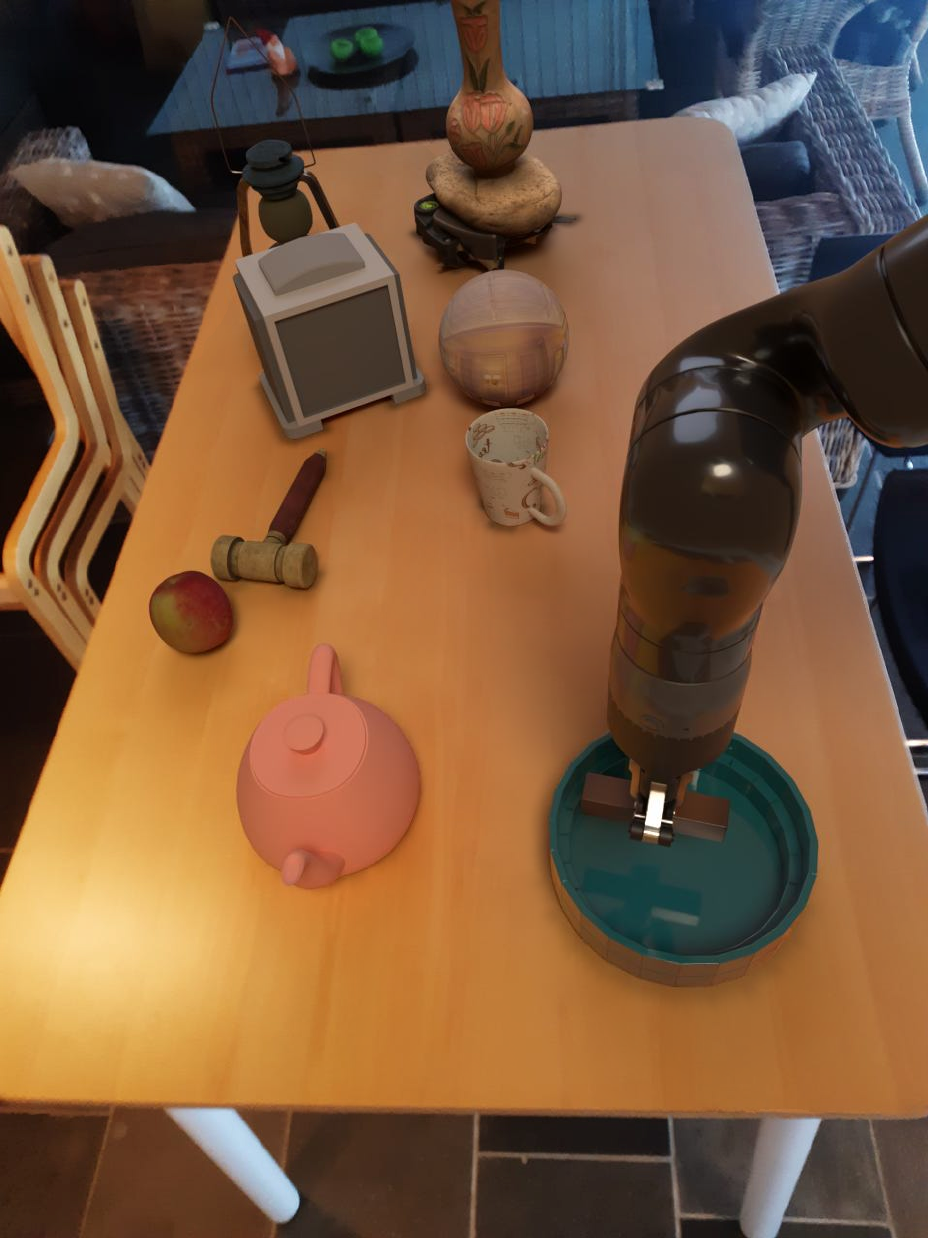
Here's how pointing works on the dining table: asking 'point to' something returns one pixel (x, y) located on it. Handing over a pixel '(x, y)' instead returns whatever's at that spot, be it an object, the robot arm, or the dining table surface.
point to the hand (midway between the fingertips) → (653, 812)
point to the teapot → (326, 782)
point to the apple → (191, 612)
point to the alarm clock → (327, 327)
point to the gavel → (275, 539)
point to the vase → (486, 157)
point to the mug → (512, 466)
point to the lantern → (277, 186)
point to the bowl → (686, 871)
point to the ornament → (503, 338)
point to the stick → (691, 818)
